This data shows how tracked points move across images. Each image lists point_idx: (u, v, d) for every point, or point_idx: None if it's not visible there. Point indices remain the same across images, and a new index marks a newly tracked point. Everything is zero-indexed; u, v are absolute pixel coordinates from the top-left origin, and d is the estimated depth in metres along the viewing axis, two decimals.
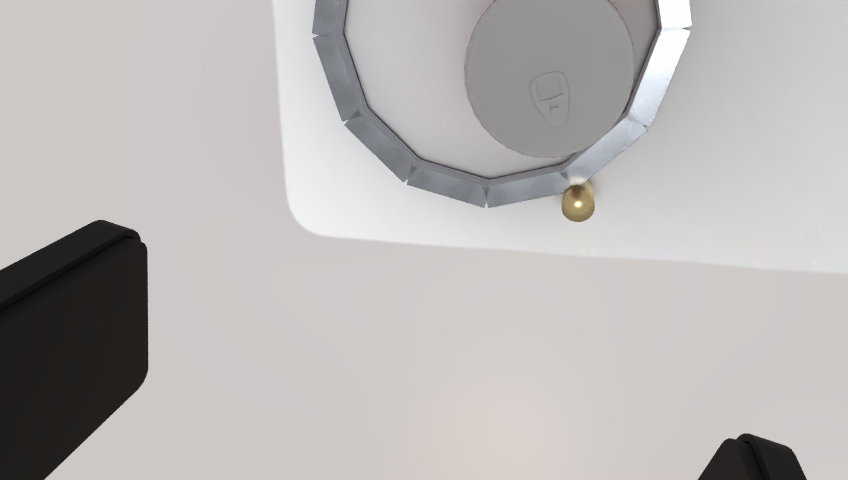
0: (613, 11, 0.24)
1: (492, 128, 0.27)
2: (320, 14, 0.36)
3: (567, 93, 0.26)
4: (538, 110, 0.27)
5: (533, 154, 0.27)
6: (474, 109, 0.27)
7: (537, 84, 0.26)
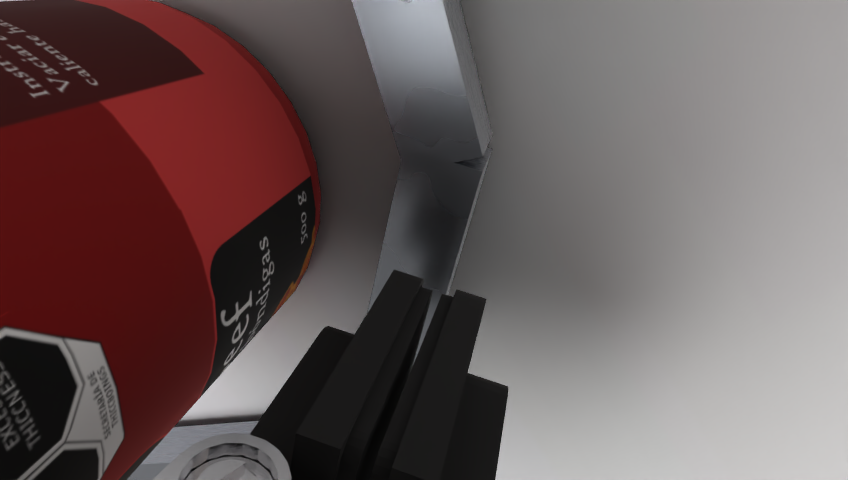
0: None
1: None
2: None
3: None
4: None
5: None
6: None
7: None
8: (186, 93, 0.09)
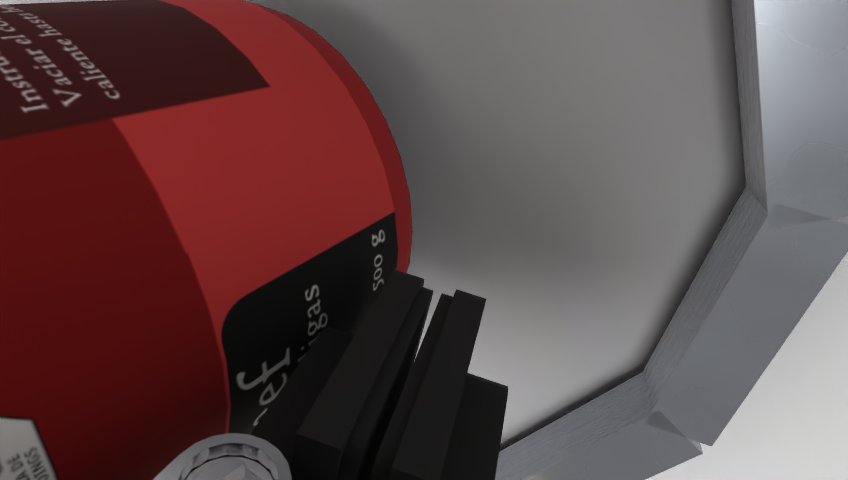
0: None
1: None
2: None
3: None
4: None
5: None
6: None
7: None
8: (237, 109, 0.08)
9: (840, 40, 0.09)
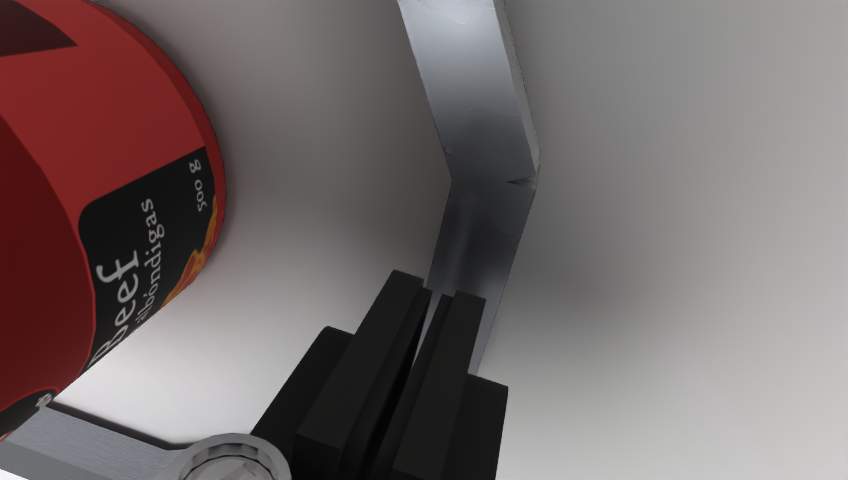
0: None
1: None
2: None
3: None
4: None
5: None
6: None
7: None
8: (54, 61, 0.10)
9: (470, 6, 0.09)
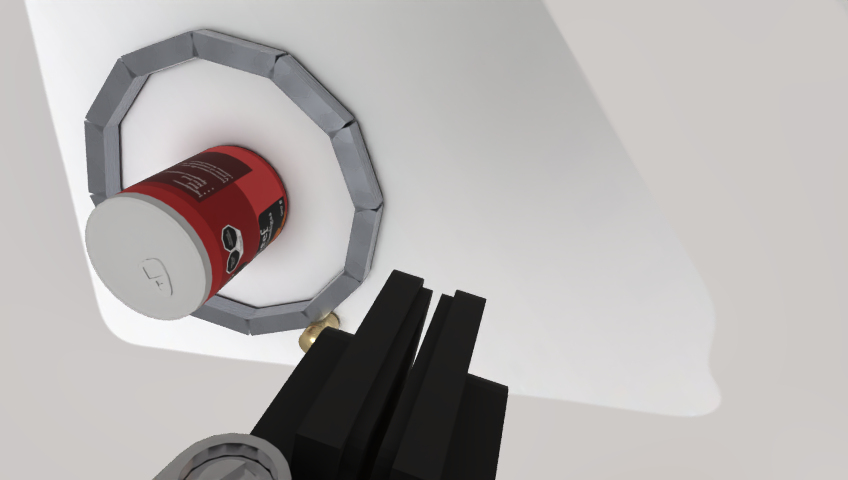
0: (173, 221, 0.31)
1: (121, 297, 0.34)
2: (92, 178, 0.42)
3: (166, 274, 0.33)
4: (150, 285, 0.33)
5: (155, 317, 0.34)
6: (104, 283, 0.34)
7: (143, 266, 0.33)
8: (249, 176, 0.37)
9: (357, 166, 0.37)
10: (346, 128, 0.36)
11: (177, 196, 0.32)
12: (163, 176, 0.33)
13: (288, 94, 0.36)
